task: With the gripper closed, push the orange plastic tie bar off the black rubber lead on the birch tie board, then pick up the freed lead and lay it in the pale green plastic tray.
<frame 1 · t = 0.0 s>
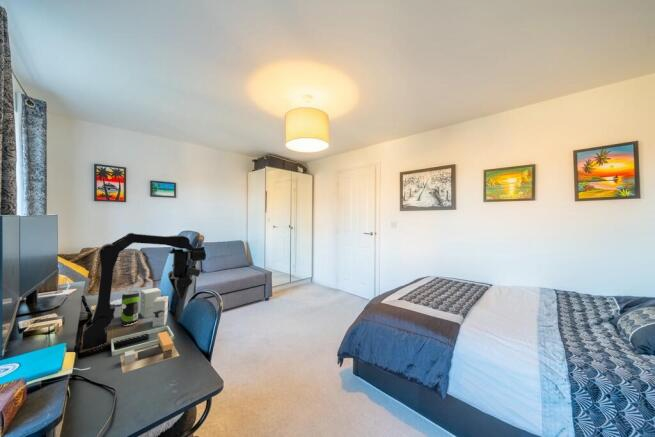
hand: (179, 295, 113), 15 cm above the table, tool pointing down, fingers open, 9 cm apart
beverage can: (129, 324, 114), on the table
lead: (153, 354, 89), point 1 cm above the table, touching tie board
tie bar: (165, 340, 91), point 5 cm above the table, slide at 0.0 cm
tray: (143, 343, 98), on the table
ink box: (160, 323, 117), on the table
tie board: (149, 358, 88), on the table
supplement box: (150, 314, 126), on the table
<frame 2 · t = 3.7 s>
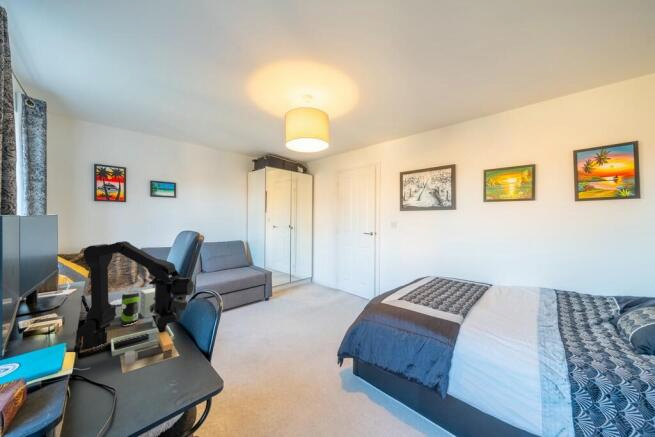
hand: (161, 334, 96), 5 cm above the table, tool pointing down, fingers closed
tie bar: (165, 340, 91), point 5 cm above the table, slide at 0.0 cm, touching gripper
everything else where it was.
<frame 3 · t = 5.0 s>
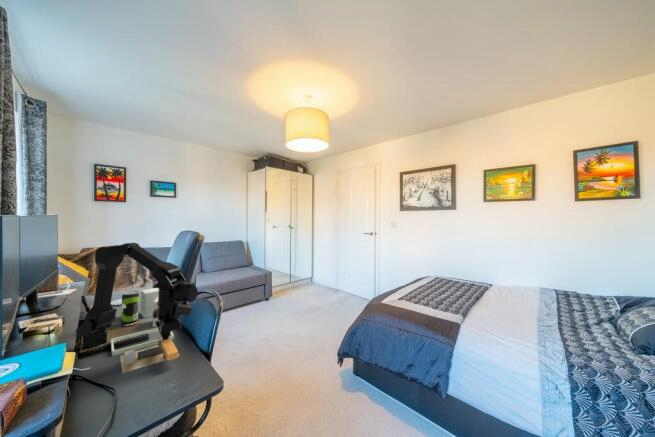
hand: (165, 341, 91), 5 cm above the table, tool pointing down, fingers closed
tie bar: (169, 348, 86), point 5 cm above the table, slide at 7.4 cm, touching gripper
everything else where it was.
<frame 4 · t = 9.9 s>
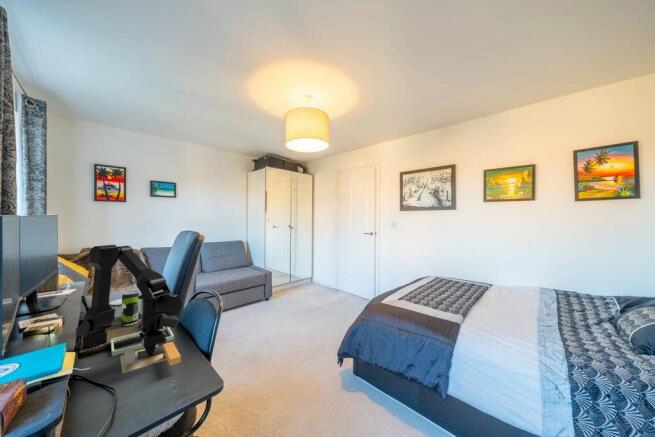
hand: (150, 354, 88), 1 cm above the table, tool pointing down, fingers closed on lead, 2 cm apart
lead: (153, 354, 89), point 1 cm above the table, touching gripper, tie board
tie bar: (171, 353, 83), point 5 cm above the table, slide at 10.9 cm
everything else where it was.
when the fingers open (3 cm above the table, at t = 14.2 s): lead drops 2 cm, resting on tray.
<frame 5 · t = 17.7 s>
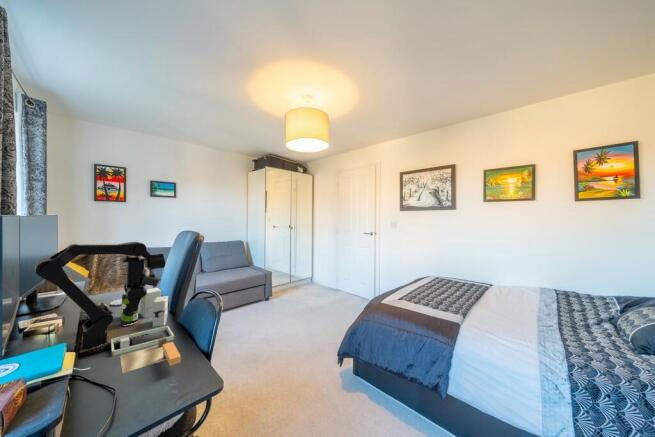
hand: (133, 307, 104), 12 cm above the table, tool pointing down, fingers open, 9 cm apart
lead: (146, 341, 99), resting on tray
everything else where it was.
at the end: tie bar slide at 10.9 cm; lead inside the target area on the tray (0.6 cm from its centre), point 0.5 cm above the tray's base; the gripper is holding nothing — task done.
